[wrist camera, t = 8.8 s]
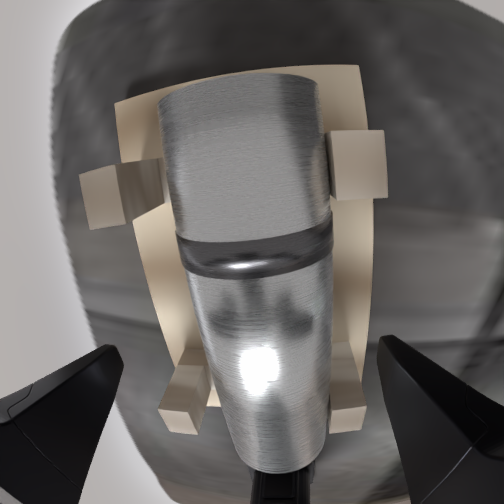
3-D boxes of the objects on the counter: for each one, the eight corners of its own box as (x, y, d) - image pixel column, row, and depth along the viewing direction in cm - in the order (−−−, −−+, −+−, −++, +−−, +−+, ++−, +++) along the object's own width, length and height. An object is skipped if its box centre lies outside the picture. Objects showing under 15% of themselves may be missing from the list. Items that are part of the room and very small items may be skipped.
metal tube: (308, 395, 16) (340, 456, 11) (227, 414, 15) (241, 483, 11) (289, 104, 11) (350, 74, 6) (164, 119, 10) (142, 88, 5)
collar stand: (355, 389, 18) (370, 456, 12) (193, 395, 20) (171, 458, 14) (353, 70, 11) (397, 27, 6) (123, 105, 13) (49, 93, 7)
